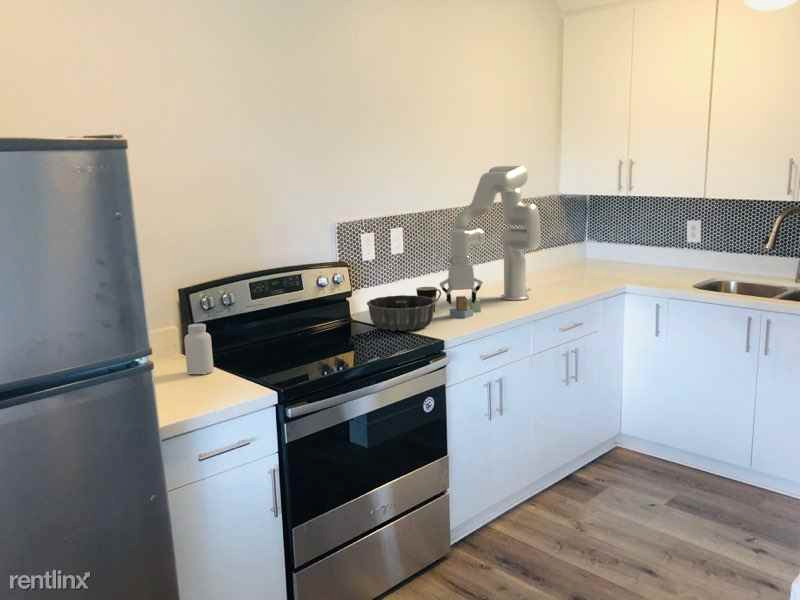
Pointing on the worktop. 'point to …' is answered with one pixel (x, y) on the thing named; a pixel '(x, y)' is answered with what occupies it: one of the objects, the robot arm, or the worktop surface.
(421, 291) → the coffee mug
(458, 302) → the walnut block
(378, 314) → the bundt pan
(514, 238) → the robot arm
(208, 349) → the pill bottle
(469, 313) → the slate block
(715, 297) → the worktop surface
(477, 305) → the sage block
